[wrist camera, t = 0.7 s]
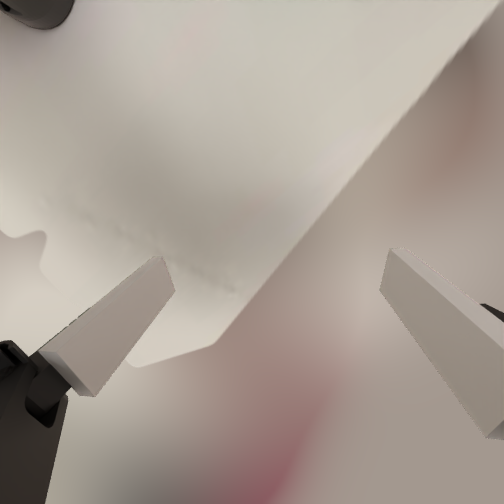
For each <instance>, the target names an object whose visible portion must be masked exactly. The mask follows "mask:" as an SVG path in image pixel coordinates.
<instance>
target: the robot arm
mask: <svg viewBox="0 0 504 504" xmlns="http://www.w3.org/2000/svg"><path fill="white" fill-rule="evenodd" d="M72 3H73V0H0V11H2V12H4V13H5V14H7V15H9V16H11V17H13V18H15V19H17V20H19V21H20V22H22V23H24V24H26V25H29V26H31V27H34V28H39V29H48V28H52V27H55V26H57V25H58V24H60V23H61V22H62V21H63V20H64V19H65V17H66V16H67V14H68V12H69V10H70V8H71V6H72ZM174 292H175V288H174V285H173V283H172V280H171V277H170V274H169V272H168V269H167V266H166V263H165V261H164V258H163V257H152V258H151V259H149V260H148V261H147V262H146V263H145V264H143V265H142V266H141V267H140V268H138V269H137V270H136V271H135V272H134V273H132V274H131V275H130V276H129V277H127V278H126V279H125V280H124V281H123V282H121V283H120V284H119V285H118V286H116V287H115V288H114V289H113V290H112V291H110V292H109V293H108V294H107V295H105V296H104V297H103V298H102V299H101V300H99V301H98V302H97V303H96V304H94V305H93V306H92V307H91V308H89V309H87V310H86V311H85V312H84V313H82V314H81V315H80V316H79V317H78V318H77V319H75V320H74V321H73V322H71V323H70V324H69V326H67V327H65V328H64V329H63V330H62V331H60V333H58V334H57V335H55V336H54V337H53V338H52V339H51V340H49V341H48V342H47V343H46V344H44V345H43V346H42V347H41V348H40V349H38V350H37V351H36V352H35V353H33V354H32V355H31V356H29V357H28V356H27V355H26V354H25V353H24V352H23V351H22V350H21V349H20V348H19V347H18V346H17V345H16V344H15V343H14V342H13V341H11V340H7V341H2V342H0V504H45V501H46V497H47V492H48V488H49V483H50V479H51V475H52V470H53V466H54V462H55V457H56V453H57V448H58V444H59V439H60V435H61V431H62V426H63V422H64V417H65V413H66V409H67V404H68V396H67V395H66V394H65V393H66V392H67V391H68V390H69V389H70V388H71V387H72V388H73V389H74V390H75V391H76V392H77V394H79V395H80V396H90V397H96V395H97V394H98V393H99V391H100V390H101V389H102V387H103V386H104V385H105V384H106V382H107V381H108V380H109V378H110V377H111V376H112V374H113V373H114V372H115V370H116V369H117V368H118V366H119V365H120V364H121V362H122V361H123V360H124V358H125V357H126V356H127V354H128V353H129V352H130V350H131V349H132V348H133V347H134V345H135V344H136V343H137V341H138V340H139V339H140V337H141V336H142V335H143V333H144V332H145V331H146V329H147V328H148V327H149V325H150V324H151V323H152V321H153V320H154V319H155V317H156V316H157V315H158V313H159V312H160V311H161V310H162V308H163V307H164V306H165V304H166V303H167V302H168V300H169V299H170V298H171V296H172V295H173V294H174ZM380 292H381V293H382V295H383V296H384V297H385V299H386V300H387V301H388V303H389V304H390V305H391V307H392V308H393V310H394V311H395V313H396V314H397V315H398V317H399V318H400V320H401V321H402V322H403V324H404V325H405V327H406V328H407V329H408V331H409V332H410V333H411V335H412V336H413V337H414V339H415V340H416V342H417V343H418V344H419V346H420V347H421V349H422V350H423V352H424V353H425V354H426V356H427V357H428V359H429V360H430V361H431V363H432V364H433V365H434V367H435V368H436V370H437V371H438V372H439V374H440V375H441V377H442V378H443V379H444V381H445V382H446V383H447V385H448V386H449V388H450V389H451V390H452V392H453V393H454V395H455V396H456V397H457V399H458V400H459V402H460V403H461V404H462V406H463V407H464V409H465V410H466V411H467V412H468V414H469V415H470V417H471V418H472V420H473V421H474V422H475V424H476V425H477V427H478V428H479V429H480V431H481V432H482V434H483V435H484V436H485V438H491V439H499V440H504V313H503V312H501V311H499V310H497V309H495V308H493V307H491V306H489V305H486V304H479V303H477V302H476V301H475V300H473V299H472V298H471V297H469V296H468V295H467V294H466V293H464V292H463V291H461V290H460V289H459V288H458V287H456V286H455V285H453V284H452V283H451V282H450V281H448V280H447V279H446V278H445V277H443V276H442V275H441V274H439V273H438V272H437V271H435V270H434V269H433V268H431V267H430V266H429V265H427V264H426V263H425V262H423V261H422V260H421V259H420V258H418V257H417V256H415V255H414V254H413V253H412V252H410V251H409V250H408V249H406V248H391V249H389V252H388V257H387V261H386V265H385V269H384V273H383V277H382V282H381V286H380Z"/></svg>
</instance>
